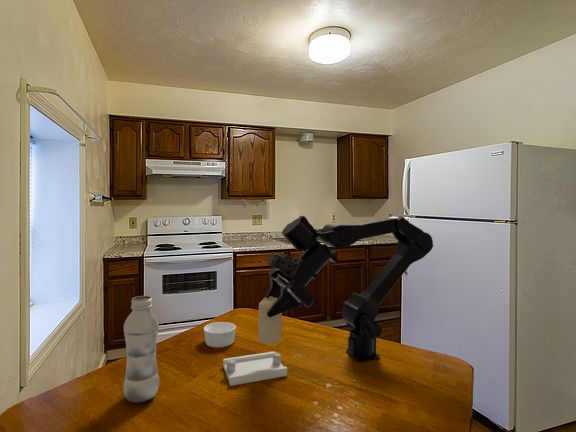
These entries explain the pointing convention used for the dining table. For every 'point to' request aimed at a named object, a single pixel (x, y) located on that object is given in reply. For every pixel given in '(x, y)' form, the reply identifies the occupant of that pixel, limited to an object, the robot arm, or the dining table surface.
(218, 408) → the dining table surface
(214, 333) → the ramekin
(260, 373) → the tray
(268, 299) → the candle
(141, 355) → the plastic bottle
